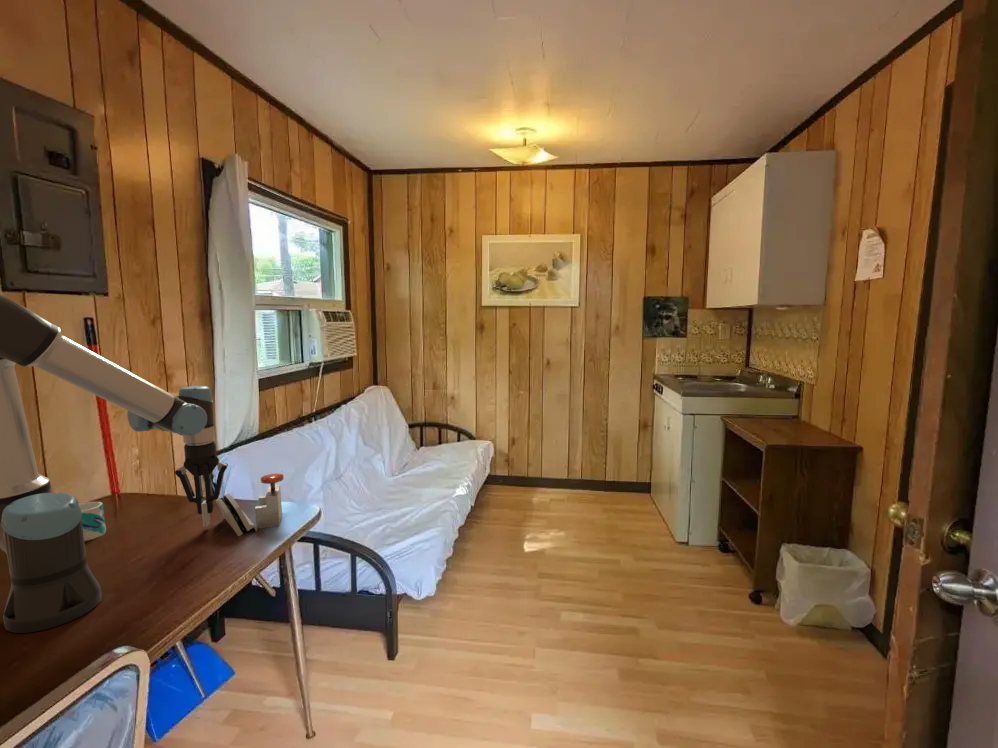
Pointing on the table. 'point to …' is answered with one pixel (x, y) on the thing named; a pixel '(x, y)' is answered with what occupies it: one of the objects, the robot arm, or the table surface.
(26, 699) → the table surface
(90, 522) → the mug
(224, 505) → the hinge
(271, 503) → the valve body
